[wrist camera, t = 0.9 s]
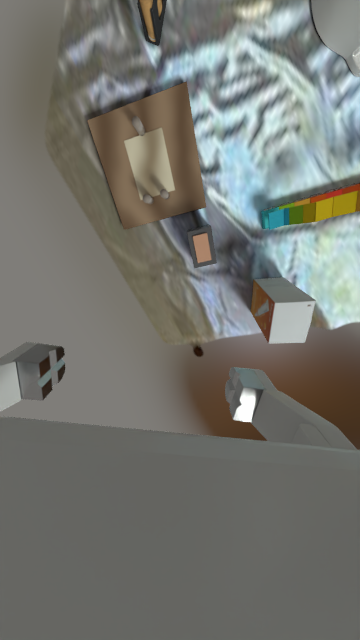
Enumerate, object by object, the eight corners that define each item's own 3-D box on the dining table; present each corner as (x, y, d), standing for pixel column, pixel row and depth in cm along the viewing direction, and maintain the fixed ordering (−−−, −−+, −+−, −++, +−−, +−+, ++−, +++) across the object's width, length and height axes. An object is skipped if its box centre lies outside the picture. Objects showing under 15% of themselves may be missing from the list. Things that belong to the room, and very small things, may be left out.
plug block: (208, 224, 38) (211, 226, 31) (213, 255, 40) (216, 263, 34) (188, 229, 38) (186, 232, 32) (194, 260, 41) (194, 268, 35)
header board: (186, 87, 29) (185, 64, 25) (205, 207, 36) (207, 205, 32) (91, 124, 32) (75, 109, 27) (126, 229, 39) (117, 230, 35)
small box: (252, 278, 42) (274, 302, 31) (283, 276, 41) (317, 299, 30) (249, 312, 46) (268, 344, 34) (277, 310, 45) (306, 343, 34)
